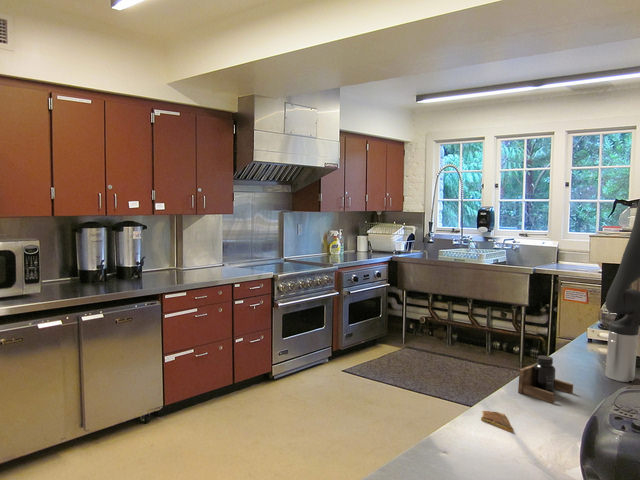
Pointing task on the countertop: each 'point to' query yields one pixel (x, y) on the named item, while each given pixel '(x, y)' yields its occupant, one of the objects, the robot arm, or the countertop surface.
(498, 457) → the countertop surface
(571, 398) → the countertop surface
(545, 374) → the supplement bottle
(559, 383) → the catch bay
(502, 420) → the shard
